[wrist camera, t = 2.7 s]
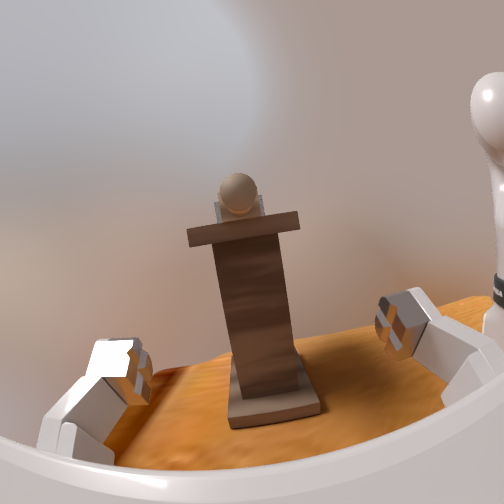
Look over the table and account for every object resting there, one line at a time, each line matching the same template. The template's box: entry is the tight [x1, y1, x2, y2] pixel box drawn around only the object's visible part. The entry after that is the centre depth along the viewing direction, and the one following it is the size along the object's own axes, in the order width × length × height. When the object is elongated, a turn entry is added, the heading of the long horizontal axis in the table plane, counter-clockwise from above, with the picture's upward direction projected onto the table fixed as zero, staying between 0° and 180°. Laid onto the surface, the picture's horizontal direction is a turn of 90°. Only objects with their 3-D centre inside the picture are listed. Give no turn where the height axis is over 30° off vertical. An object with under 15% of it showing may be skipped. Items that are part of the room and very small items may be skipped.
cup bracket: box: [214, 195, 265, 223], centre depth 47 cm, size 5×8×4 cm, turn 92°
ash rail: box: [218, 173, 261, 223], centre depth 32 cm, size 26×4×3 cm, turn 2°
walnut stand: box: [187, 211, 321, 429], centre depth 41 cm, size 20×12×26 cm, turn 2°
